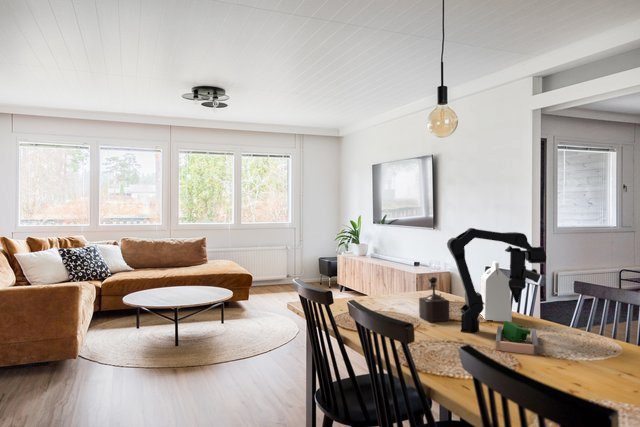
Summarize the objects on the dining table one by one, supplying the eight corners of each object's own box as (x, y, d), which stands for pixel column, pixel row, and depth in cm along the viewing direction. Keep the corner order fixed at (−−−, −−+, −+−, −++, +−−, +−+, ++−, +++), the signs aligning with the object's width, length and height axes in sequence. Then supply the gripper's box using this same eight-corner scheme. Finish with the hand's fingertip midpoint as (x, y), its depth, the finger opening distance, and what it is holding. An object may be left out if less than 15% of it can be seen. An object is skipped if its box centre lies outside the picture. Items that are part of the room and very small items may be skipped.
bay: (495, 349, 165) (495, 341, 165) (497, 332, 186) (497, 325, 186) (538, 354, 159) (538, 346, 159) (535, 336, 181) (535, 329, 181)
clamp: (524, 353, 175) (534, 334, 171) (509, 349, 174) (518, 331, 171) (514, 333, 186) (523, 315, 182) (500, 329, 185) (508, 312, 182)
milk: (511, 321, 204) (512, 263, 204) (484, 320, 206) (485, 263, 206) (505, 315, 216) (505, 260, 216) (479, 314, 218) (480, 260, 217)
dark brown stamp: (451, 321, 205) (451, 281, 205) (429, 322, 203) (429, 282, 202) (434, 313, 221) (435, 276, 220) (413, 314, 218) (413, 277, 218)
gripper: (540, 267, 176) (539, 307, 176) (538, 261, 193) (538, 298, 193) (508, 265, 180) (508, 304, 180) (510, 260, 197) (509, 295, 197)
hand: (517, 300), depth 188 cm, fingers open, 8 cm apart
